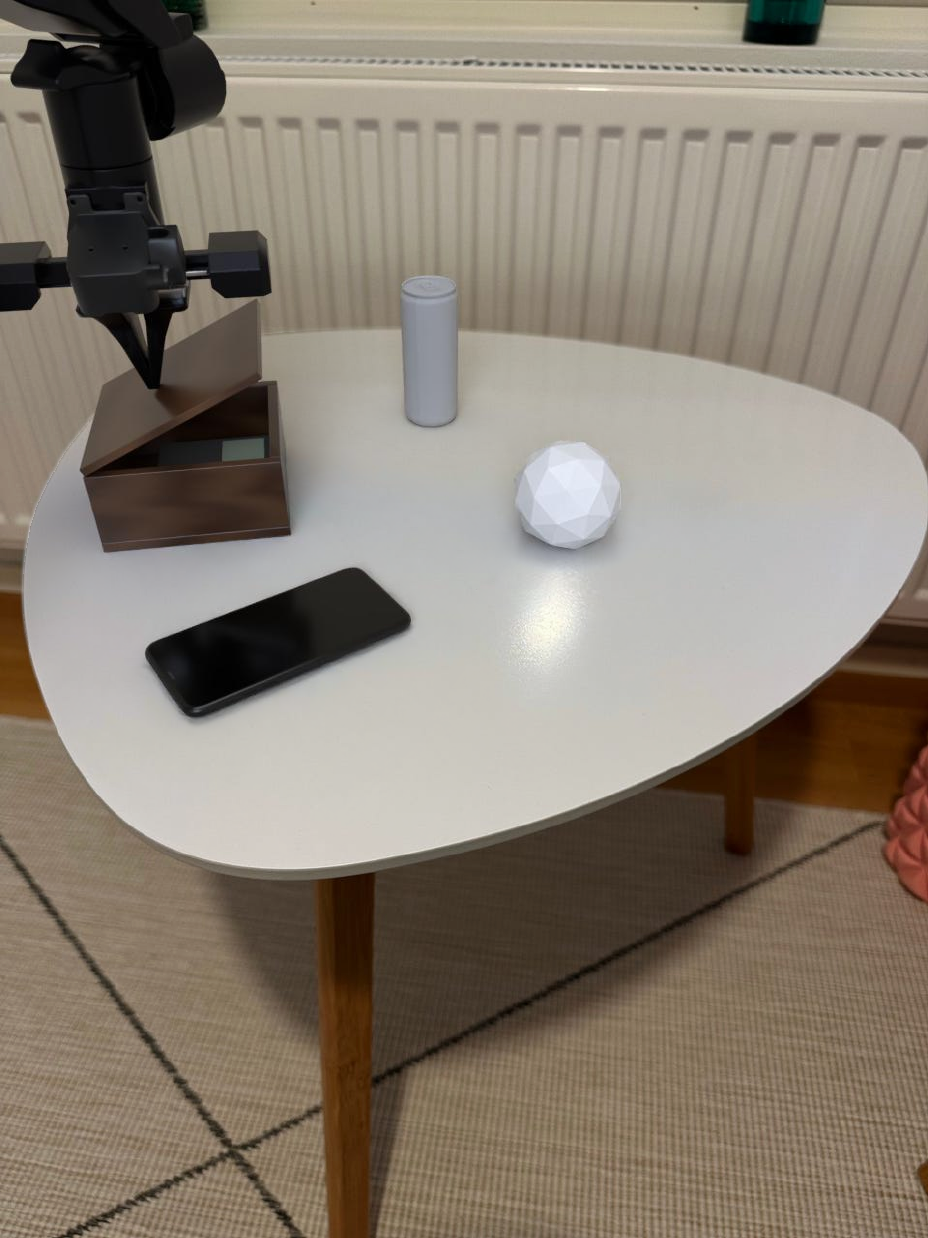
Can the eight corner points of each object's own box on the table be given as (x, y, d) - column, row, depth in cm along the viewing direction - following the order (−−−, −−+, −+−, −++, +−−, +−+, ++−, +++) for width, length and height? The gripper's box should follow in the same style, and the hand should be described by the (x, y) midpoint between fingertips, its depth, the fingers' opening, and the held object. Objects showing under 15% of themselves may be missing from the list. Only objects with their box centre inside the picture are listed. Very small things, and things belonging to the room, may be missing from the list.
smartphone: (357, 571, 70) (141, 655, 62) (356, 561, 69) (138, 644, 62) (418, 629, 65) (190, 727, 57) (417, 618, 64) (187, 716, 57)
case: (285, 448, 84) (277, 379, 80) (290, 535, 73) (280, 461, 69) (122, 461, 82) (105, 391, 78) (103, 552, 72) (82, 478, 68)
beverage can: (439, 399, 91) (437, 270, 83) (468, 419, 88) (469, 287, 80) (395, 413, 89) (388, 281, 81) (423, 434, 86) (419, 299, 78)
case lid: (260, 304, 76) (256, 297, 75) (262, 379, 65) (257, 372, 65) (106, 390, 78) (101, 384, 78) (84, 477, 68) (78, 470, 67)
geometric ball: (541, 555, 76) (525, 453, 76) (641, 539, 73) (625, 432, 72) (506, 560, 69) (488, 448, 69) (615, 542, 66) (597, 424, 66)
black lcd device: (162, 513, 74) (154, 476, 72) (167, 476, 79) (159, 441, 77) (275, 502, 75) (270, 467, 73) (274, 467, 80) (269, 432, 78)
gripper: (-84, 202, 54) (-1, 450, 64) (256, 186, 57) (286, 428, 67) (-39, 151, 63) (28, 378, 73) (255, 140, 65) (282, 360, 75)
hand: (154, 386), depth 72 cm, fingers closed
